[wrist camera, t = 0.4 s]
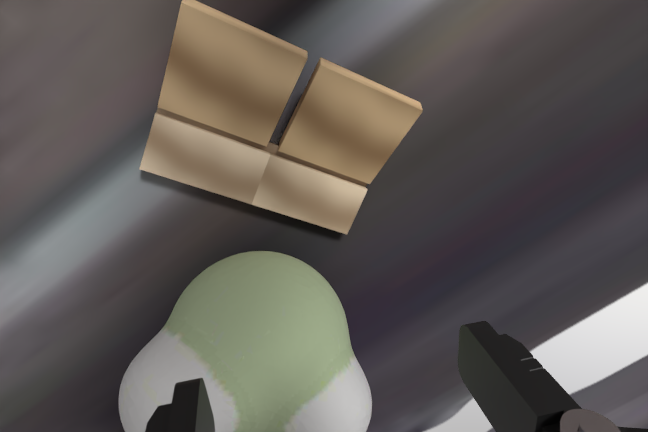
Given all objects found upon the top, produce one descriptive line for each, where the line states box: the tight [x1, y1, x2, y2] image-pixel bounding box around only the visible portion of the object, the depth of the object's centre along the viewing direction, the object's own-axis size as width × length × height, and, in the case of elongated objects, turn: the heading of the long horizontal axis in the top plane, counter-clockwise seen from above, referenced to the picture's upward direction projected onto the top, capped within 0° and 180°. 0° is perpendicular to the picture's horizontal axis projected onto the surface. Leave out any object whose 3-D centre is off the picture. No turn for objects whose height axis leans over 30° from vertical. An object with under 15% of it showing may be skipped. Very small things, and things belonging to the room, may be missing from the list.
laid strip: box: [140, 107, 367, 234], centre depth 35 cm, size 5×18×1 cm, turn 67°
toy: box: [119, 251, 372, 432], centre depth 33 cm, size 18×15×15 cm
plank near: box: [158, 0, 308, 147], centre depth 31 cm, size 8×8×1 cm
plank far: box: [278, 57, 423, 184], centre depth 34 cm, size 8×8×1 cm
